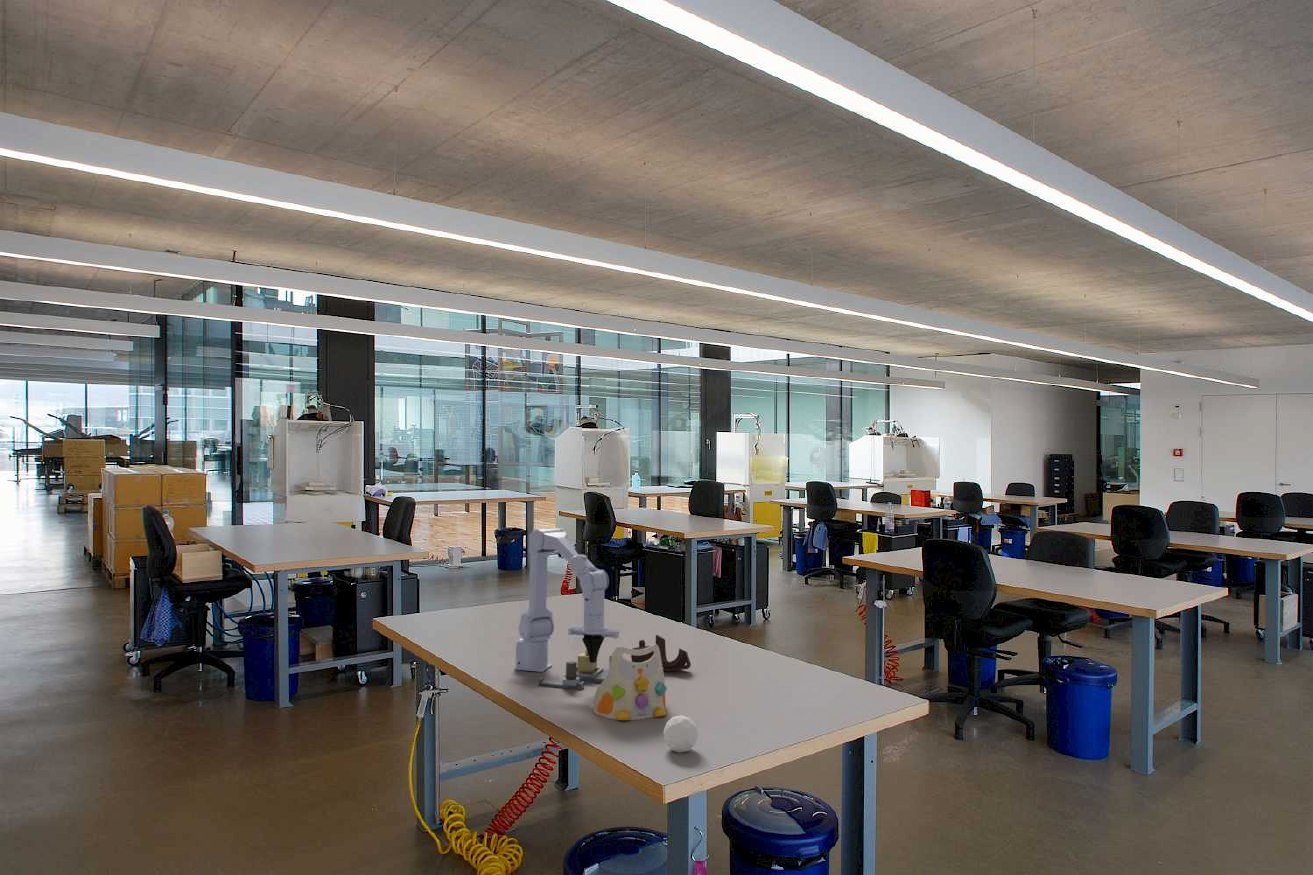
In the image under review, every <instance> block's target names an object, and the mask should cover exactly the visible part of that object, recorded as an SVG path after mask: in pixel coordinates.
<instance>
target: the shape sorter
mask: <svg viewBox="0 0 1313 875" xmlns="http://www.w3.org/2000/svg"><path fill="white" fill-rule="evenodd" d="M649 646H650V647H648V648H645V649H641V650H633V648H632V649H631V648H629V647H625V646H618V647H616V648H615V649H614V651H613V652H612V653H613V654H612V653H611V655H612V657H611V661H610V666H609V665H608V666H609V667H608V669H607V670H608V673H607V676H606V677H605V679H604V681H603V682H602V683H599V684H600V685H599V686H598V687H597V688H596V691H595V694H594V699H593V712H594V714H595V715H598V716H600V717H603V718H607V719H610V720H611V719H612V720H616V721H617V720H618V721H634V720H641V719H642V720H643V719H651V718H656V717H657V718H659V717H664V716H666V715H667V713H666V707H667V706H666V692H667V690H668V688H667V686H666V684H665V674H664V669H663V667H662V661H661V655H660V650H659V647H658V645H657V644H656V643H653V644H651V645H649ZM652 651H653V652H654V655H653V656H652V657H651V658H650V659H649V660H647V661H645V662H640V663H635V662H632V660H631V661H630V660H628V659H627V658H626V657H625V658H624V656H623V655H624V654H627V655H629V656H630V655H636V656H640V655H645V654H648V653H650V652H652Z"/></svg>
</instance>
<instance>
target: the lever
mask: <svg viewBox="0 0 1313 875" xmlns="http://www.w3.org/2000/svg"><path fill="white" fill-rule="evenodd" d="M577 666H578V661H574V660H569V661H566V662H565V675H566V677H565V676H564V678H563V679H562V682H563V684H562V685H570V686H576V685H578V684H580V683H581V681H580V678H578V677H577Z"/></svg>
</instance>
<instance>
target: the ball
mask: <svg viewBox="0 0 1313 875" xmlns="http://www.w3.org/2000/svg"><path fill="white" fill-rule="evenodd" d="M697 728H698V727H697V725H696V724H695V722H694V721H693V720H692V718H691V717H688V716H685V715H682V714H681V715H676V716H672V717H671V718H670V719H669V720H668V721H667V722H666V723H665V726H664V729H663V732H662V733H663V738H664V743H665V744H666V746H667V747H668V748H669V750H672V751H674V752H676V753H678V754H680V753H685V752H688V751H690V750H692V748H693V747H694V746H695V745H696V743H697V740H698V737H699V733H698V729H697Z"/></svg>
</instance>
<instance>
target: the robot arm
mask: <svg viewBox="0 0 1313 875" xmlns="http://www.w3.org/2000/svg"><path fill="white" fill-rule="evenodd" d="M567 533H568V532H566V531H565V529H563V528H562V527H557V528H541V529H538V528H535V529H533V530H532V531H531V533H529V535H528V536H529V537H528V538H529V540H528V541H529V542H528V554H529V594H528V595H529V599H528V600H529V601H528V602H529V603H528V608H527V609H525V610H524V611H523V612H522V613H521V615H520V621H519V624H518V633H519V635H520V638H519V639H518V640H517V642H516V646H515V666H514V668H513V669H514V670H516V671H517V670H519V671H528V672H529V671H530V672H539V673H543V672H544V671H546V670H548V669H549V668H550V667H552V666H553V664H552V663H548V662H549V661H548V659H549V657H548V656H549V654H548V653H549V640H550V639H551V636H552V635H553V633H554V631H555V622H554V619H553V617H554V616H553V612H552V611H551V610H549V609H548V608H547V587H548V585H547V584H548V557H550V555H551V554H553V553H554V552H557V553H558V554H560V555H561V557H563V558H564V559H565V560H566V561H567V562H568V563H569V565H568V568H569V569H570V571H571V572H572V573H573V574H574V575H575V576H576V578H577V579H578V580H579V586H580V589H581V592H582V597H583V626H570V627H568V636H573V635H574V636H583V637H582V639H581V640H582V642H583V644H584V646H585V648H586V649H585V650H587V652H588V655H589V660H590V663H595V662H596V661H597V662H598V655H599V653H600V649H601V647H602V644H603V643H604V640H605V638H613V639H618V638H620V629H613V628H606V627H605V590H607V589H608V587H609V584H610V578H609V575H608V573H607V572H606V570H604V569H599V568H597V567H596V566H595V565H594V564H593V563H592V562H591V561H590V560H589V559H588V556H587V555H586V554H581V553H580V554H579V553H578V552H577V551H576V549H575V548H574V547H573V545H572V544H571V543H570V541H569V539H568V534H567Z"/></svg>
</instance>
